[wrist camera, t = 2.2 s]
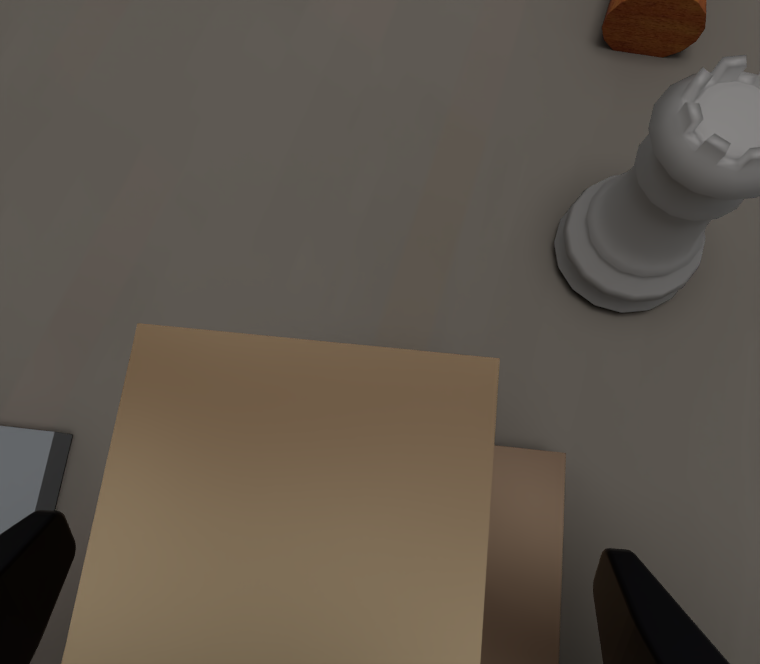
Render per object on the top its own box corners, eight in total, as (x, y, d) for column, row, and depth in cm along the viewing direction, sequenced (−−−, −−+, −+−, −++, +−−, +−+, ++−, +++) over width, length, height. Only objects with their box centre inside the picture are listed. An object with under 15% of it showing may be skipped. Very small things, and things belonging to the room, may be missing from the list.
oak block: (436, 601, 15) (472, 798, 6) (271, 579, 16) (47, 728, 6) (450, 431, 17) (499, 358, 7) (295, 414, 17) (137, 323, 7)
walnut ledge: (534, 831, 16) (551, 879, 14) (145, 767, 17) (109, 805, 15) (549, 456, 18) (565, 453, 16) (209, 418, 19) (186, 411, 17)
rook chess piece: (523, 246, 20) (592, 96, 12) (619, 170, 21) (743, -18, 13) (616, 343, 19) (754, 247, 11) (714, 262, 19) (911, 116, 12)
